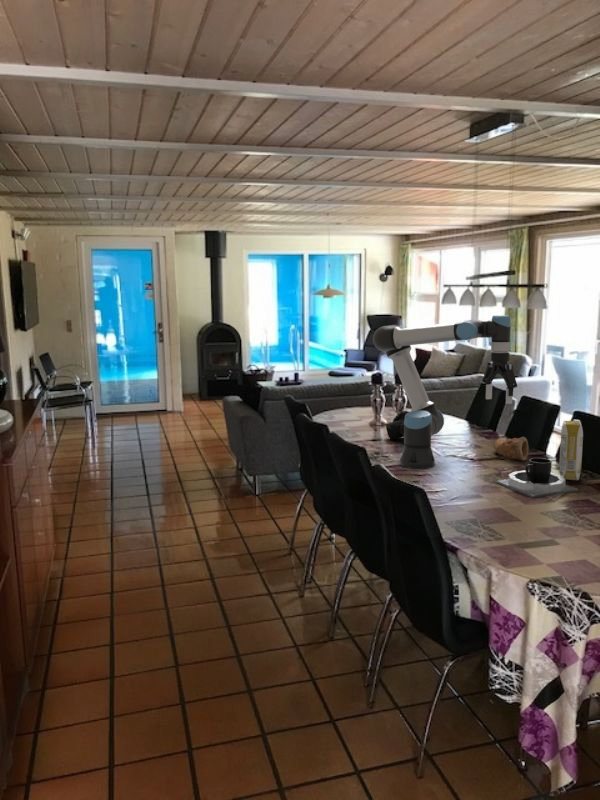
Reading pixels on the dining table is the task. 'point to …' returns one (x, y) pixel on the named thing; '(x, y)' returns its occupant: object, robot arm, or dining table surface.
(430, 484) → the dining table surface
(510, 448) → the clay pipe
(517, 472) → the duct collar
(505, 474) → the dining table surface
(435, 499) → the dining table surface
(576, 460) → the juice carton
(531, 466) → the mug
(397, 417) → the valve
